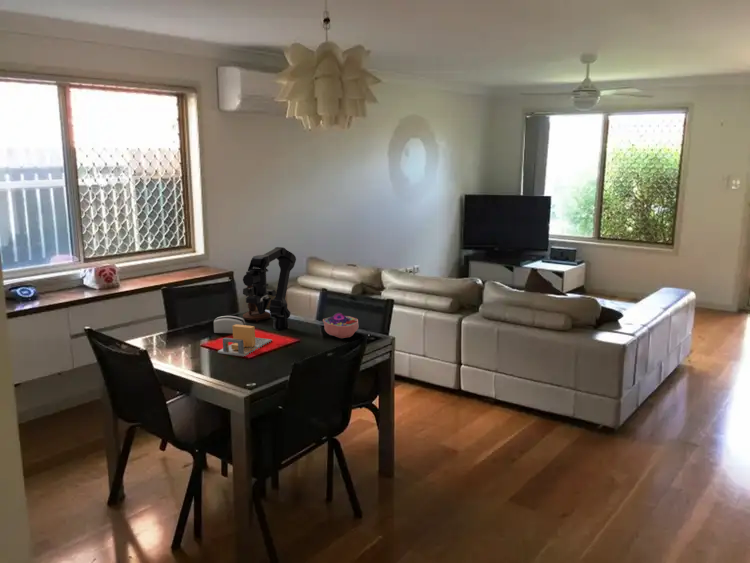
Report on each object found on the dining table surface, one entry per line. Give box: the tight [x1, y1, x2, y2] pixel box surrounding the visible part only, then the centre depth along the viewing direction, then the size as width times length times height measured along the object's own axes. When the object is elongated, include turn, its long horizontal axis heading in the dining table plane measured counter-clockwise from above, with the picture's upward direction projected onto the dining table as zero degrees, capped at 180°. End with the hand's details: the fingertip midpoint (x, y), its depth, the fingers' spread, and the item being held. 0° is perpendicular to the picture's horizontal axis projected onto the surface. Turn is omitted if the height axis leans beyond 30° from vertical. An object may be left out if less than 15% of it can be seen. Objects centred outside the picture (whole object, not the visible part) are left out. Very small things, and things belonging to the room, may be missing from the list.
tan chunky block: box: [230, 324, 256, 350], centre depth 293 cm, size 9×10×9 cm
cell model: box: [322, 312, 359, 339], centre depth 312 cm, size 17×20×11 cm
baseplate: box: [217, 336, 273, 357], centre depth 298 cm, size 24×14×7 cm, turn 159°
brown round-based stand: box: [242, 286, 271, 323], centre depth 344 cm, size 15×15×20 cm
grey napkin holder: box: [213, 315, 247, 334], centre depth 321 cm, size 17×5×10 cm, turn 82°
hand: (261, 313), depth 311 cm, fingers open, 2 cm apart
